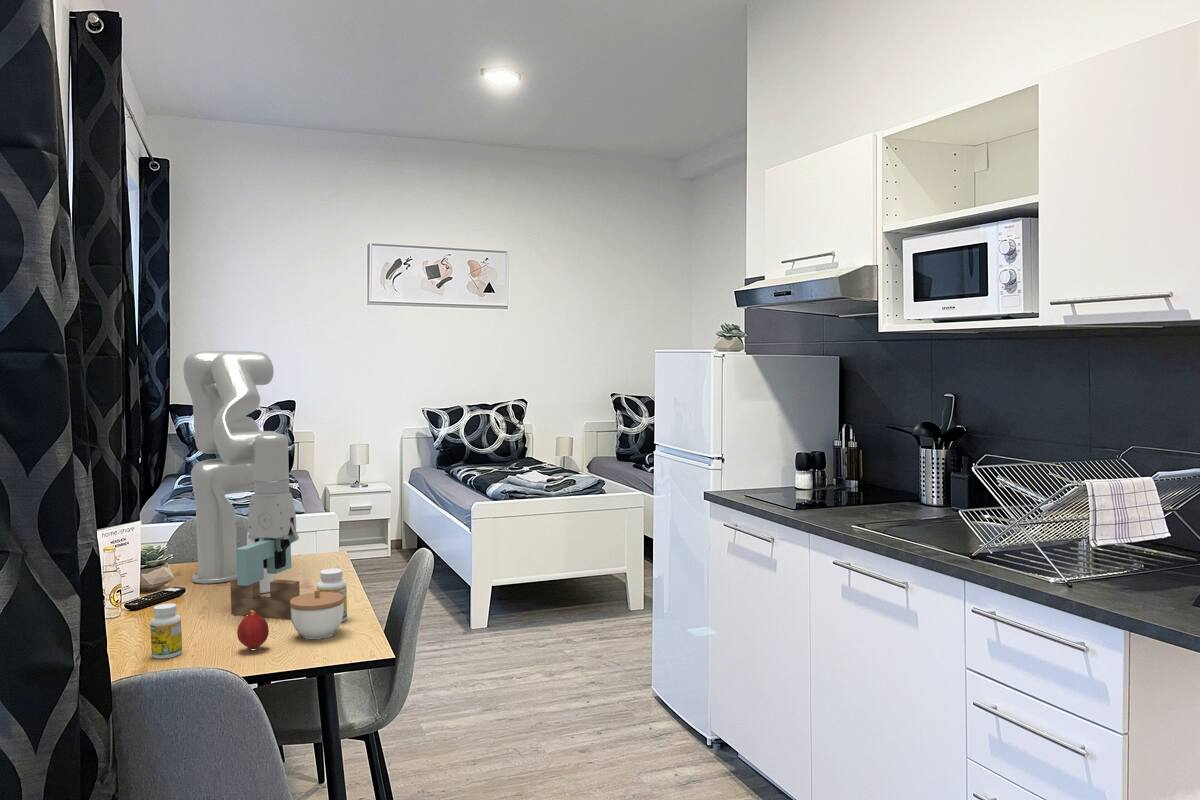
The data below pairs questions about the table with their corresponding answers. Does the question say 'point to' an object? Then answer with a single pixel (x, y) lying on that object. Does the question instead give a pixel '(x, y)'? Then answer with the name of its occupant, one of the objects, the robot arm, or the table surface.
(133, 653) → the table surface
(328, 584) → the pill bottle
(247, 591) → the slotted stand
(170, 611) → the supplement bottle
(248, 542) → the drinking glass
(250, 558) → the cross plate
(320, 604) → the lidded jar
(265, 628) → the onion
